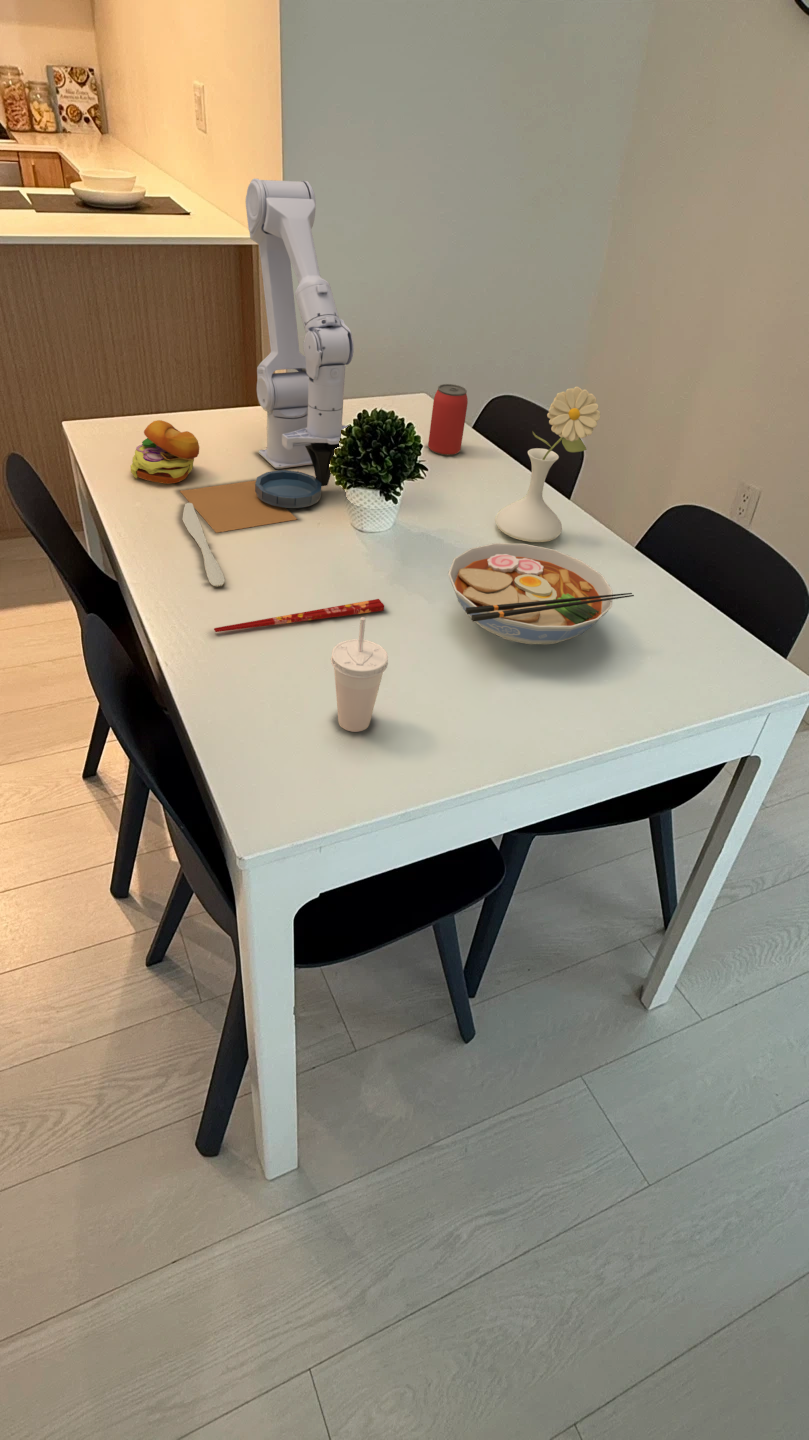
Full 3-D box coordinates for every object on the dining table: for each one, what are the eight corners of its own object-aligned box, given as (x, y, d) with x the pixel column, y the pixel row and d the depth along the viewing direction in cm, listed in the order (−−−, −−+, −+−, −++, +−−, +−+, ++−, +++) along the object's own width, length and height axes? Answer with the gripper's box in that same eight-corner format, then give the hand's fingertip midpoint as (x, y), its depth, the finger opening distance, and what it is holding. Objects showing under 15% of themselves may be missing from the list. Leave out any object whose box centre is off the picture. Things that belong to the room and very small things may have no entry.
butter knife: (205, 585, 122) (226, 582, 122) (177, 503, 141) (195, 501, 142) (205, 588, 122) (226, 586, 123) (177, 506, 142) (196, 505, 142)
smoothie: (380, 706, 105) (391, 608, 96) (381, 741, 100) (393, 639, 92) (327, 703, 105) (334, 603, 96) (325, 737, 100) (332, 635, 91)
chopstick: (213, 630, 114) (212, 624, 113) (378, 603, 124) (379, 598, 123) (217, 638, 113) (217, 632, 112) (384, 611, 122) (384, 605, 122)
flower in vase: (486, 538, 144) (513, 385, 128) (502, 512, 152) (529, 365, 137) (562, 557, 141) (600, 403, 126) (574, 529, 150) (611, 382, 134)
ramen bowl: (558, 579, 135) (569, 531, 130) (638, 661, 119) (655, 610, 114) (409, 594, 127) (416, 544, 122) (474, 686, 111) (485, 632, 106)
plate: (302, 480, 154) (303, 467, 152) (332, 506, 147) (332, 492, 146) (245, 488, 149) (245, 474, 147) (272, 515, 142) (272, 501, 140)
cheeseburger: (123, 464, 151) (132, 408, 146) (183, 474, 157) (194, 420, 152) (135, 488, 144) (145, 429, 139) (198, 497, 150) (209, 441, 145)
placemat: (257, 480, 152) (257, 480, 152) (297, 519, 142) (297, 519, 142) (179, 491, 146) (179, 490, 146) (216, 532, 135) (216, 532, 135)
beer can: (466, 450, 173) (475, 389, 166) (450, 459, 169) (458, 397, 161) (438, 440, 176) (446, 380, 168) (421, 449, 171) (428, 387, 164)
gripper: (296, 417, 136) (294, 499, 144) (376, 409, 142) (369, 487, 151) (276, 402, 140) (275, 482, 148) (355, 394, 147) (350, 471, 155)
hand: (321, 483), depth 150 cm, fingers closed
